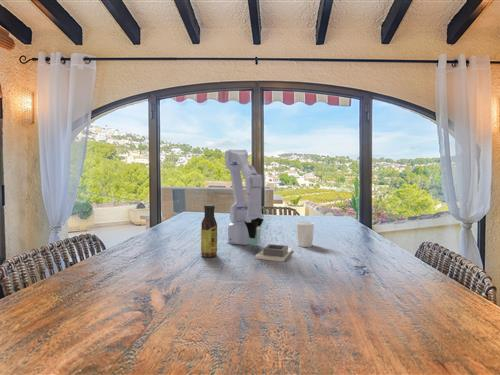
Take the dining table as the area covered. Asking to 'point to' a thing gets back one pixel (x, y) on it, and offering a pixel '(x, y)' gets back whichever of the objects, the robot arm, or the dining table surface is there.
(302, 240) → the white cup
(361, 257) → the dining table surface
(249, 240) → the block
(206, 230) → the sauce bottle
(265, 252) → the outlet plate
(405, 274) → the dining table surface
